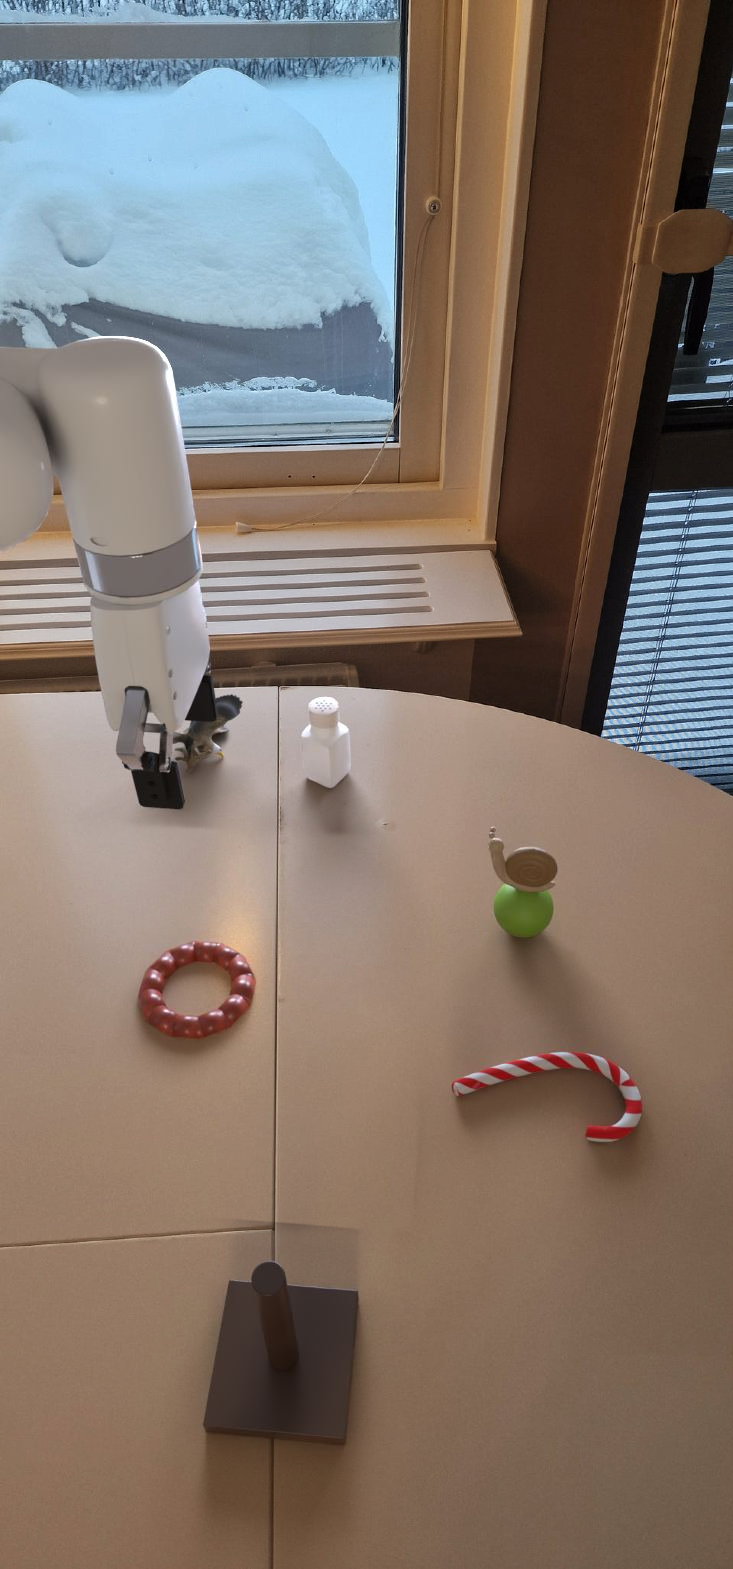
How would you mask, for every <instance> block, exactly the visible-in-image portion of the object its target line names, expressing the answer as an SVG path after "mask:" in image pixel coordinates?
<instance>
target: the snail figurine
mask: <svg viewBox="0 0 733 1569" xmlns="http://www.w3.org/2000/svg"><path fill="white" fill-rule="evenodd" d="M496 830H497V829H496V827H495V826H490V828H489V833H488V838H490V839H489V841H488V842H487V846H488V847H487V848H488V851H489V852H490V859H491V863H492V866H493V870H494V872H495V875H496V876H497V878H498V879H499V880H500V881H501V882H502V883H503V885H502V886H500V888H499V889H498V891H497V892H496V895H495V897H494V900H493V914H494V917H495V920H496V922H497V923H498V925H499V926H500V928H502V930H504V931H505V932H506V933H508V934H509V935H511V936H514V937H516V938H517V937H518V938H530V937H531V938H532V937H533V936H537V935H538V934H539V935H540V933H542V932H543V931H544V930H545V929H546V928H547V927H548V926H549V925H550V923H551V921H552V918H553V917H554V916H553V915H554V908H555V906H554V901H553V897H552V895H551V893H550V891H549V890H550V889H552V888H553V887H555V886H556V882H555V881H553V880H554V879H555V878H556V876H557V874H558V868H559V867H558V863H557V861H556V859H555V858H554V856H553V855H552V854H551V853H549V852H548V851H547V850H545V849H543V848H540V847H536V846H522V847H519V848H516V849H514V850H513V851H512V852H510V853H509V854H508V855H507V858H506V859H505V855H504V849H505V843H504V841H503V840H502V839H500V838H498V837H495V835H496V834H495V833H496Z"/></svg>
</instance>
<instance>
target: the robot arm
mask: <svg viewBox="0 0 733 1569" xmlns="http://www.w3.org/2000/svg"><path fill="white" fill-rule="evenodd" d="M179 407H180V406H179V401H178V395H177V389H176V382H175V378H174V372H173V368H172V366H171V364H170V362H169V360H168V358H167V357H166V355H165V354H164V353H163V352H162V350H161V349H159V348H158V347H157V346H155V345H154V344H152V343H150V342H149V341H146V340H143V339H140V338H135V337H129V336H119V335H118V336H117V335H116V336H115V335H108V336H107V335H106V336H95V337H90V338H89V337H88V338H83V339H79V340H75V341H72V342H70V343H67V344H64V345H62V346H60V347H14V346H13V347H10V346H0V553H1V552H4V551H8V550H10V549H12V548H15V547H17V546H19V545H21V544H22V543H23V542H25V541H27V540H28V539H30V537H32V536H33V535H34V534H35V533H36V532H37V531H38V530H39V529H40V527H41V526H42V524H43V523H44V521H45V520H46V518H47V517H48V514H49V512H50V509H51V506H52V502H53V499H54V498H53V497H54V492H55V491H54V490H55V487H54V486H55V485H54V483H55V482H54V477H55V478H56V479H57V481H58V484H59V488H60V489H59V490H60V493H61V496H62V501H63V505H64V508H65V512H66V517H67V520H68V524H69V525H68V526H69V529H70V533H71V537H72V541H73V545H74V549H75V553H76V557H77V561H78V565H79V570H80V574H81V577H82V581H83V585H84V587H85V589H86V591H87V592H88V593H89V594H90V595H91V597H90V602H89V605H90V607H89V608H90V625H91V626H90V627H91V635H92V636H91V637H92V645H93V652H94V659H95V665H96V670H97V675H98V681H99V682H98V683H99V686H100V691H101V696H102V701H103V702H102V703H103V707H104V711H105V715H106V720H107V723H108V725H109V727H110V729H111V730H112V731H113V732H118V735H117V740H116V743H115V754H116V756H117V757H118V758H119V760H120V761H121V764H123V767H124V769H126V770H128V771H130V773H131V776H132V781H133V784H134V789H135V793H136V797H137V801H138V804H139V805H140V807H143V808H150V809H166V810H179V811H180V810H183V809H184V806H185V803H186V797H185V793H184V788H183V783H182V779H181V774H180V768H179V763H178V761H175V760H173V745H174V744H173V733H174V732H178V730H179V729H180V728H181V727H182V726H183V724H184V723H185V721H187V722H188V721H189V722H191V721H203V722H214V721H216V719H217V717H218V710H217V704H216V698H217V697H216V691H215V686H214V680H213V675H210V673H211V671H212V659H211V658H210V653H211V652H210V651H211V650H210V649H211V648H210V636H209V634H210V633H209V628H208V621H207V615H206V610H205V604H204V600H203V595H202V590H201V586H200V581H199V580H200V578H201V576H202V574H203V573H204V563H203V562H204V561H203V557H202V550H201V544H200V543H201V542H200V537H199V532H198V524H197V518H196V511H195V506H194V497H193V493H192V485H191V479H190V473H189V472H190V471H189V467H188V460H187V454H186V446H185V441H184V440H185V439H184V434H183V427H182V421H181V415H180V408H179ZM149 714H153V715H154V716H155V718H156V719H157V721H158V722H159V723H153V722H150V723H149V722H147V721H148V715H149ZM145 733H151V734H153V733H154V734H159V748H158V752H154V751H147V750H146V746H145V744H144V736H145Z"/></svg>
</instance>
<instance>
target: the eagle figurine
mask: <svg viewBox="0 0 733 1569" xmlns="http://www.w3.org/2000/svg"><path fill="white" fill-rule="evenodd" d="M243 703H244V701H242V700H241V698H240V697H239V696H237V695H235V694H233V693H232V694H226V695H219V697H216V704H217V710H218V717H217V719H216V721H214V722H203V721H190V723H189V727H187V728H186V729H185V730H183V731H182V732H178V731H175V732H174V733H173V744H172V745H176V744H178V743H180V744H183V745H184V747H185V748H184V747H182V746H180V747H176V748H174V751H176V752H177V751H179V752H181V753H182V754H183V757H182V756H176V757H174V761H175V762H179V761H181V762H184V763H185V767H186V769H185V772H186V774H190V772H191V771H192V770H193V769H195V767H196V766H197V763H198V761H199V760H200V759H204V758H207V757H209V756H210V755H211V753H212V754H215V755H218V756H219V757H221V758H225V754H224V753H223V749H222V747H220V746H219V745H217V744H216V743H215V742H214V741H213V740H212V737H213V735H216V734H220V733H227V732H229V731H230V729H228V727H226V726H225V725H226V724H227V723H228V722H229V721H232V720H233V719H235V718H237V717H238V716H239V715H240V714H241V709H242V707H243ZM200 751H202V752H200Z"/></svg>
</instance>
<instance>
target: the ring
mask: <svg viewBox="0 0 733 1569" xmlns="http://www.w3.org/2000/svg"><path fill="white" fill-rule="evenodd" d="M193 963H211V964H212V963H213V964H215V965H216V966H217V967H219V968H221V969H223V970H224V971H226V972H227V975H228V977H229V980H230V981H231V988H230V992H229V996H228V997H227V998H226V999H225V1000H224V1001H223V1002H222V1003H221V1004H220V1005H219V1006H218V1008H216V1009H214V1010H210V1011H208V1012H206V1013H202V1014H201V1015H200V1014H199V1015H187V1014H179V1013H177V1012H176V1011H174V1010H172V1009H171V1008H170V1007H168V1006H167V1004H166V1002H165V999H164V997H163V993H164V988H165V985H166V981H167V980H168V979H169V978H170V977H171V976H172V975H173V974H174V973H175V972H176V971H177V970H178V969H179V968H183V967H185V966H188V965H190V964H193ZM256 982H257V981H256V977H255V975H254V972H253V970H252V968H251V966H250V964H249V961H248V960H247V958H246V957H245V956H244V955H243V954H242V953H240V952H238V951H237V950H235V949H234V948H231V947H230V946H228V945H227V944H225V943H224V942H216V941H215V942H213V941H199V940H196V941H195V940H194V941H190V942H187V943H184V944H182V945H179V946H176V947H174V948H170V949H168V950H166V951H165V952H163V953H162V954H161V955H160V956H159V957H158V958H157V959H156V960H155V961H154V962H153V963H151V965H150V966H149V967H148V968H146V970H145V972H144V974H143V978H142V981H141V983H140V987H139V990H138V994H137V1000H138V1003H139V1007H140V1008H141V1011H142V1014H143V1017H144V1019H145V1021H146V1023H148V1024H149V1025H150V1026H152V1027H153V1028H155V1029H157V1030H158V1031H159V1032H161V1033H163V1034H164V1035H166V1036H168V1037H170V1038H179V1039H182V1038H183V1039H199V1040H201V1039H204V1038H206V1037H209V1036H212V1035H214V1034H217V1033H219V1032H222V1031H224V1030H227V1029H230V1028H231V1027H232V1026H234V1025H235V1023H236V1022H237V1021H238V1020H239V1019H240V1018H241V1017H242V1016H243V1015H244V1014H245V1013H246V1012H247V1010H248V1009H249V1008H250V1007H251V1005H252V1002H253V997H254V993H255V988H256V984H257V983H256Z"/></svg>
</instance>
